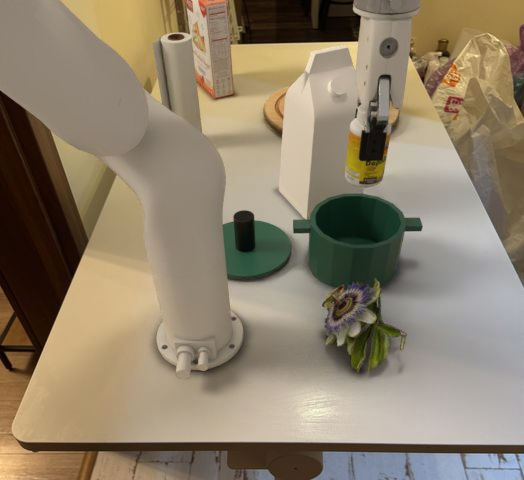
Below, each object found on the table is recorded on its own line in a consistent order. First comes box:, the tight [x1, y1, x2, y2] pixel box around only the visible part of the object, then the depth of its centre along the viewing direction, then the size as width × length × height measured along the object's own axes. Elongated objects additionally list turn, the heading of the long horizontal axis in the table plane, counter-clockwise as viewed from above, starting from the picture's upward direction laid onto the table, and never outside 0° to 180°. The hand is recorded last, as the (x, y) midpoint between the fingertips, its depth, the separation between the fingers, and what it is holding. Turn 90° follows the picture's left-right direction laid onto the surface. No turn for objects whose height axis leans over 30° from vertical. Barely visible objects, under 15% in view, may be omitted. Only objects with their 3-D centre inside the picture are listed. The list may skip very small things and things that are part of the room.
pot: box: [292, 193, 424, 290], centre depth 83 cm, size 15×20×8 cm
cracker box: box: [185, 0, 235, 100], centre depth 128 cm, size 14×6×21 cm, turn 25°
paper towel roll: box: [151, 32, 203, 133], centre depth 108 cm, size 7×6×21 cm
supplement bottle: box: [345, 102, 392, 188], centre depth 71 cm, size 6×6×10 cm
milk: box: [278, 44, 364, 219], centre depth 90 cm, size 12×12×26 cm
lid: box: [223, 209, 292, 279], centre depth 86 cm, size 16×16×7 cm
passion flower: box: [321, 278, 408, 373], centre depth 72 cm, size 11×11×12 cm
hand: (367, 147), depth 72 cm, fingers closed on supplement bottle, 5 cm apart
